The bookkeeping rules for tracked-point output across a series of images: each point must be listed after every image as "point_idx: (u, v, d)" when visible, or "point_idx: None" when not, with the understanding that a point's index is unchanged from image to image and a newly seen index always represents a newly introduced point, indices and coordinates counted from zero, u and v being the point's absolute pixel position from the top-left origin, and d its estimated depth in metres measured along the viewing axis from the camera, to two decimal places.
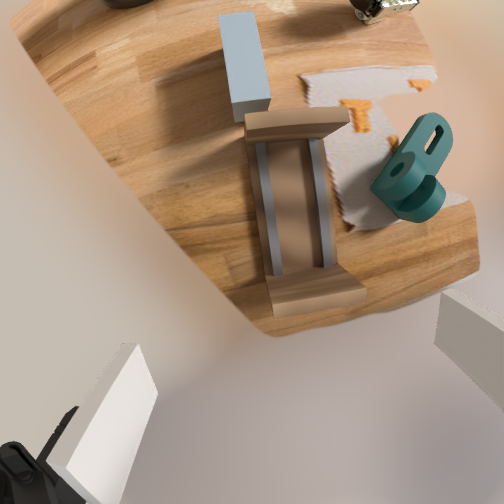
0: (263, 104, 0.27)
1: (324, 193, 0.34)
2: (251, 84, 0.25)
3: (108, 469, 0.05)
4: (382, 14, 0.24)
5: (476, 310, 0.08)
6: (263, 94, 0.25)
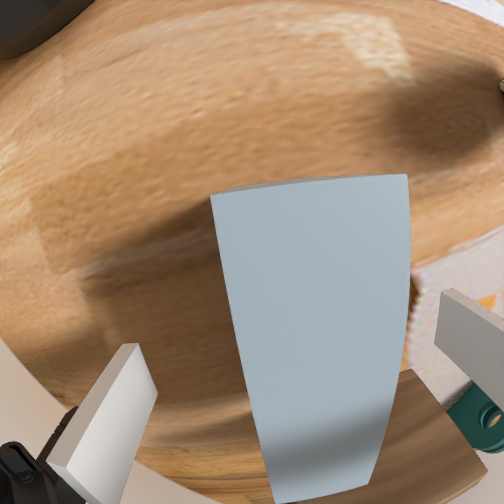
0: None
1: None
2: (330, 478, 0.07)
3: (108, 469, 0.05)
4: None
5: (476, 310, 0.08)
6: (353, 484, 0.08)
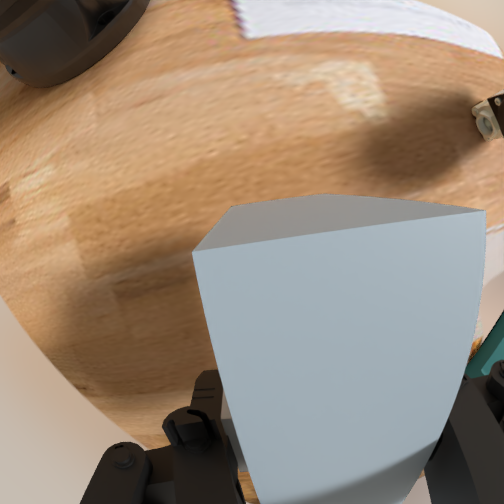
0: None
1: None
2: None
3: None
4: None
5: None
6: None
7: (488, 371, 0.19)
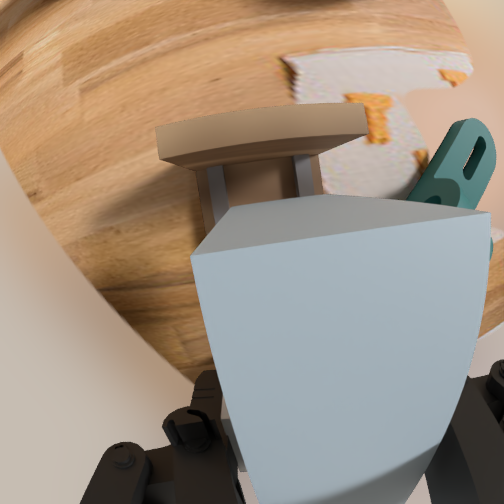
0: None
1: None
2: None
3: None
4: None
5: None
6: None
7: None
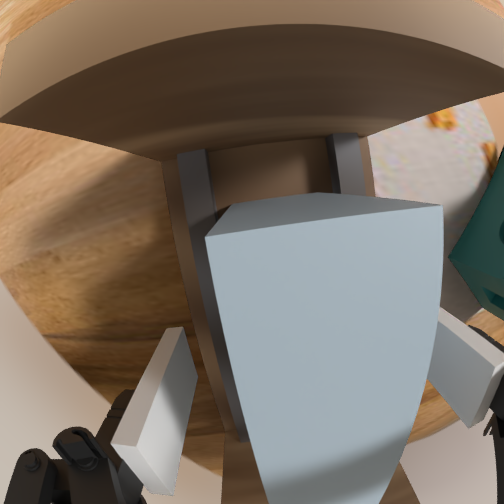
0: None
1: None
2: None
3: (167, 448, 0.06)
4: None
5: None
6: None
7: None
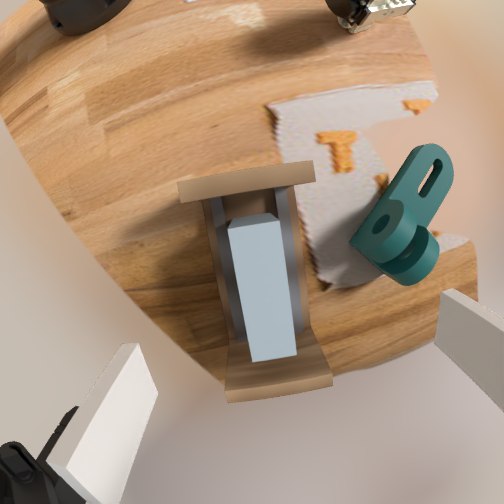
0: None
1: (293, 254, 0.30)
2: (274, 341, 0.23)
3: (108, 469, 0.05)
4: (369, 21, 0.20)
5: (476, 310, 0.08)
6: (288, 351, 0.24)
7: None
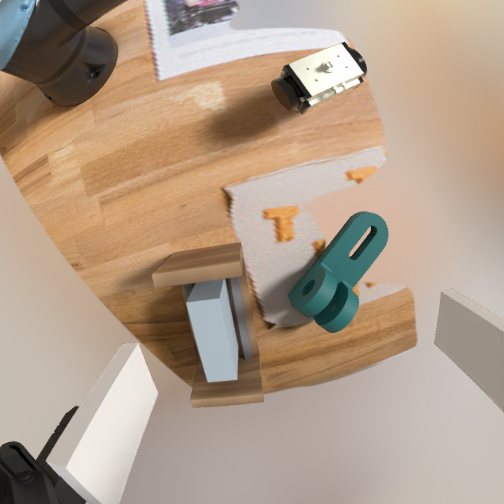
0: None
1: (241, 305, 0.40)
2: (221, 370, 0.34)
3: (108, 469, 0.05)
4: (313, 108, 0.31)
5: (476, 310, 0.08)
6: (231, 377, 0.34)
7: (332, 268, 0.40)
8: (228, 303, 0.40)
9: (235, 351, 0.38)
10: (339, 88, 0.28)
